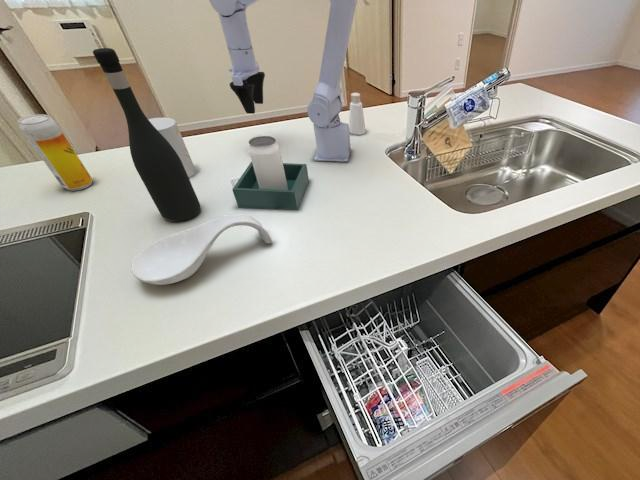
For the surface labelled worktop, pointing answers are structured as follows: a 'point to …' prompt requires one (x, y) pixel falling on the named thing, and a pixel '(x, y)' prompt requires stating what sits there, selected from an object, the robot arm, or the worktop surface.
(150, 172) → the wine bottle
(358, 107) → the pepper shaker
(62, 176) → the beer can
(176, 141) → the cup
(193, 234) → the spoon rest
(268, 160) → the can
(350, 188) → the worktop surface
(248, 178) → the box
